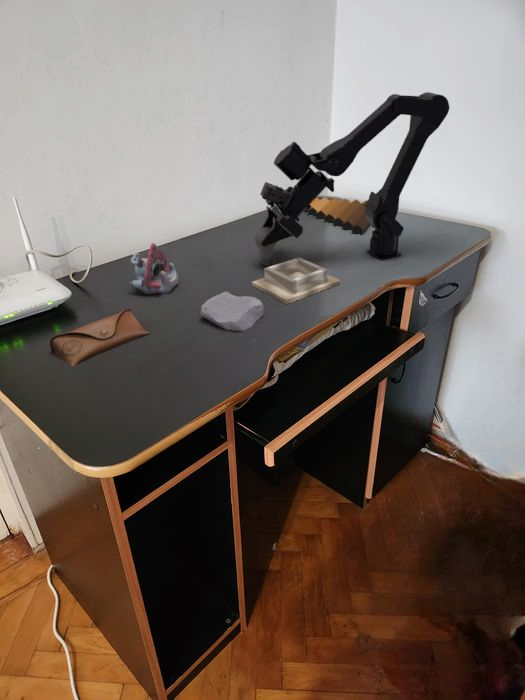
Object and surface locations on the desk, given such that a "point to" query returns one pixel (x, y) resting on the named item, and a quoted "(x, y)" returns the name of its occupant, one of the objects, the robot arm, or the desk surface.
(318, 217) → the pan flute
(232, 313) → the stone block
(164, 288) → the grey and pink figurine
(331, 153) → the robot arm
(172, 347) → the desk surface
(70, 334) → the sunglasses case
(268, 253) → the light bulb
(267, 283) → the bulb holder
